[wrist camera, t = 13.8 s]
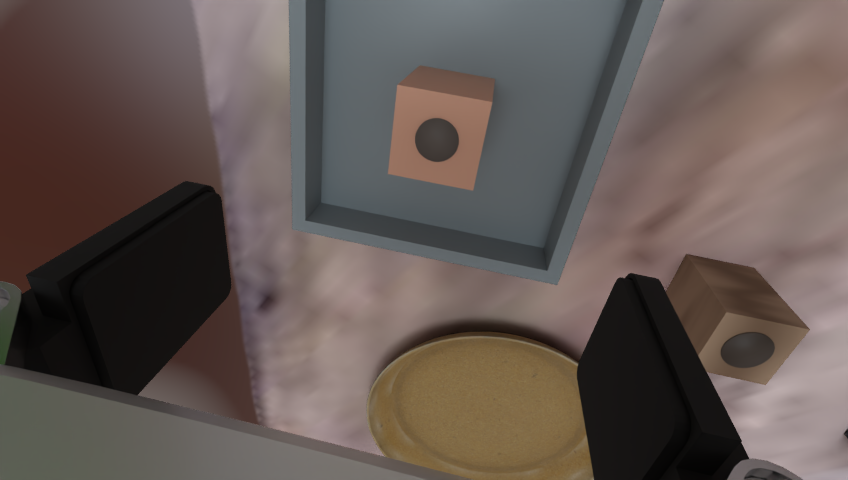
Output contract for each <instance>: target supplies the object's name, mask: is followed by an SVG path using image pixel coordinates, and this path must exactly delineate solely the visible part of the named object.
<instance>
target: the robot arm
mask: <svg viewBox="0 0 848 480" xmlns="http://www.w3.org/2000/svg"><path fill="white" fill-rule="evenodd" d="M26 276H27V279H28V281H29V283H30V286H31V289H30V290H28V291H26V292H25V293H23V294H22V292H21V290H19V289H18V288H17V287H16V286H15V285H12V284H9V283H6V282H0V480H473V479H470V478H466V477H462V476H458V475H454V474H450V473H446V472H442V471H438V470H434V469H430V468H427V467H423V466H419V465H415V464H411V463H407V462H403V461H399V460H395V459H391V458H387V457H384V456H380V455H376V454H372V453H368V452H364V451H360V450H356V449H352V448H348V447H344V446H340V445H336V444H332V443H328V442H324V441H320V440H316V439H312V438H308V437H304V436H300V435H296V434H292V433H288V432H284V431H280V430H276V429H272V428H268V427H264V426H260V425H256V424H252V423H247V422H243V421H240V420H236V419H232V418H227V417H224V416H219V415H215V414H211V413H207V412H203V411H199V410H195V409H191V408H187V407H182V406H179V405H174V404H170V403H166V402H162V401H158V400H154V399H150V398H146V397H142V396H138V394H139V393H140V392H141V391H142V390H143V388H144V387H145V386H146V385H147V384H148V383H149V382H150V381H151V380H152V379H153V378H154V377H155V375H156V374H157V373H158V372H159V371H160V370H161V369H162V368H163V367H164V366H165V365H166V363H167V362H168V361H169V360H170V359H171V358H172V357H173V356H174V355H175V354H176V353H177V351H178V350H179V349H180V348H181V347H182V346H183V345H184V344H185V343H186V342H187V341H188V339H189V338H190V337H191V336H192V335H193V334H194V333H195V332H196V331H197V330H198V329H199V327H200V326H201V325H202V324H203V323H204V322H205V321H206V320H207V319H208V318H209V317H210V316H211V314H212V313H213V312H214V311H215V310H216V309H217V308H218V307H219V306H220V305H221V303H222V302H223V301H224V300H225V299H226V298H227V296H228V295H229V293H230V289H231V277H230V269H229V260H228V252H227V243H226V235H225V226H224V218H223V209H222V201H221V197H220V195H219V194H217V193H216V192H215V190H214V188H213V187H211V186H208V185H203V184H198V183H194V182H188V181H185V182H183V183H181V184H179V185H177V186H176V187H174V188H172V189H171V190H169V191H167V192H166V193H164V194H162V195H160V196H159V197H157V198H155V199H154V200H152V201H151V202H149V203H147V204H145V205H143V206H142V207H140V208H138V209H137V210H135V211H133V212H132V213H130V214H128V215H127V216H125V217H123V218H121V219H120V220H118V221H117V222H115V223H113V224H111V225H110V226H108V227H106V228H105V229H103V230H102V231H100V232H98V233H96V234H95V235H93V236H91V237H89V238H88V239H86V240H85V241H82V242H81V243H79V244H77V245H76V246H74V247H72V248H71V249H69V250H67V251H66V252H64V253H62V254H60V255H59V256H57V257H55V258H54V259H52V260H50V261H49V262H47V263H45V264H44V265H42V266H40V267H38V268H37V269H35V270H33V271H32V272H30V273H28V274H27V275H26ZM577 382H578V388H579V394H580V399H581V405H582V411H583V417H584V423H585V429H586V435H587V441H588V447H589V452H590V458H591V464H592V470H593V476H594V480H803V479H801V478H800V477H798V476H797V475H795V474H793V473H792V472H790V471H788V470H787V469H785V468H783V467H781V466H779V465H776V464H774V463H771V462H769V461H765V460H759V459H749V457H748V455H747V453H746V451H745V449H744V447H743V445H742V443H741V442H742V440H741V439H740V437H739V435H738V433H737V431H736V429H735V427H734V425H733V423H732V421H731V419H730V417H729V415H728V413H727V411H726V409H725V407H724V405H723V403H722V401H721V399H720V397H719V395H718V393H717V392H716V390H715V388H714V386H713V384H712V382H711V380H710V378H709V376H708V374H707V372H706V370H705V368H704V366H703V364H702V362H701V360H700V358H699V356H698V354H697V352H696V350H695V348H694V346H693V345H692V343H691V341H690V339H689V337H688V335H687V333H686V331H685V329H684V327H683V325H682V323H681V321H680V319H679V317H678V315H677V313H676V311H675V309H674V307H673V305H672V303H671V301H670V299H669V298H668V296H667V294H666V292H665V290H664V288H663V286H662V284H661V282H660V281H659V279H656V278H652V277H647V276H642V275H637V274H633V273H630V274H628V275H627V276H626V278H618V279H617V280H616V282H615V284H614V286H613V289H612V291H611V293H610V295H609V297H608V299H607V302H606V304H605V306H604V308H603V310H602V313H601V315H600V317H599V319H598V321H597V324H596V326H595V328H594V330H593V332H592V334H591V337H590V339H589V341H588V343H587V345H586V348H585V350H584V352H583V354H582V356H581V359H580V361H579V363H578V367H577Z"/></svg>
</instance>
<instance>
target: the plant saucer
mask: <svg viewBox="0 0 848 480" xmlns="http://www.w3.org/2000/svg"><path fill="white" fill-rule="evenodd" d="M577 367H578V362H577V361H575V360H574V359H572V358H571V357H569V356H568V355H566V354H564V353H563V352H561V351H559V350H557V349H555V348H553V347H550V346H548V345H546V344H543V343H541V342H538V341H535V340H532V339H529V338H525V337H522V336H517V335H512V334H506V333H499V332H464V333H456V334H451V335H446V336H442V337H438V338H435V339H432V340H429V341H427V342H424V343H422V344H419V345H417V346H415V347H413V348H411V349H410V350H408V351H406V352H405V353H403V354H402V355H400V356H399V357H397V358H396V359H395V360H394V361H393V362H391V363H390V364H389V365H388V366H387V367H386V368H385V369H384V370H383V371H382V373H381V374H380V375H379V376H378V377H377V379H376V380H375V382H374V384H373V386H372V388H371V390H370V393H369V396H368V400H367V408H366V413H367V422H368V426H369V430H370V433H371V435H372V437H373V439H374V441H375V443H376V444H377V446H378V447H379V449H380V450H381V452H382V453H383V454H384V456H385V457H387V458H391V459H395V460H399V461H403V462H407V463H411V464H415V465H419V466H423V467H427V468H430V469H434V470H438V471H442V472H446V473H450V474H454V475H458V476H462V477H466V478H470V479H473V480H594V476H593V470H592V464H591V458H590V452H589V447H588V441H587V435H586V429H585V423H584V417H583V411H582V405H581V399H580V394H579V388H578V382H577Z"/></svg>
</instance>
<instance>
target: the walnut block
mask: <svg viewBox="0 0 848 480" xmlns="http://www.w3.org/2000/svg"><path fill="white" fill-rule="evenodd" d="M666 294H667V296H668V298H669V299H670V301H671V303H672V305H673V307H674V309H675V311H676V313H677V315H678V317H679V319H680V321H681V323H682V325H683V327H684V329H685V331H686V333H687V335H688V337H689V339H690V341H691V343H692V345H693V346H694V348H695V350H696V352H697V354H698V356H699V358H700V360H701V362H702V364H703V366H704V368H705V370H706V372H709V373H714V374H718V375H723V376H727V377H732V378H736V379H741V380H746V381H750V382H755V383H759V384H764V385H766V384H767V383H768V381H769V380H770V379H771V378H772V376H773V375H774V374H775V373H776V371H777V370H778V369H779V368H780V366H781V365H782V364H783V363H784V361H785V360H786V359H787V358H788V356H789V355H790V354H791V353H792V351H793V350H794V349H795V348H796V346H797V345H798V344H799V343H800V341H801V340H802V339H803V338H804V336H805V335H806V334H807V333H808V331H809V330H810V329H809V328H808V327H807V326H806V325H805V324H804V323H803V321H802V320H801V319H800V318H799V317H798V316H797V315H796V314H795V313H794V311H793V310H792V309H791V308H790V307H789V306H788V305H787V304H786V303H785V301H784V300H783V299H782V298H781V297H780V296H779V295H778V294H777V293H776V292H775V290H774V289H773V288H772V287H771V286H770V285H769V284H768V283H767V282H766V280H765V279H764V278H763V277H762V276H761V275H760V274H759V273H758V272H757V271H756V269H755V268H752V267H748V266H743V265H738V264H733V263H728V262H723V261H718V260H713V259H708V258H703V257H698V256H693V255H688V254H686V256H685V258H684V260H683V261H682V263H681V265H680V267H679V269H678V271H677V272H676V274H675V276H674V278H673V280H672V282H671V284H670V285H669V287H668V289H667V291H666Z"/></svg>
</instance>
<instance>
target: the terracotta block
mask: <svg viewBox="0 0 848 480" xmlns="http://www.w3.org/2000/svg"><path fill="white" fill-rule="evenodd" d="M494 84H495V79H494V78H488V77H483V76H477V75H471V74H466V73H460V72H455V71H449V70H443V69H438V68H432V67H427V66H421V65H420V66H418V67H417V68H416V69H415V70H414V71H413V72H412V73H410V74H409V75H408V76H407V77H406V78H405V79H403V80H402V81H401V82H400V83H399V84H398V85H397V92H396V102H395V111H394V121H393V130H392V140H391V149H390V159H389V168H388V174H391V175H396V176H401V177H406V178H411V179H416V180H421V181H426V182H431V183H436V184H442V185H447V186H452V187H457V188H462V189H467V190H472V191H473V189H474V184H475V180H476V175H477V170H478V166H479V161H480V157H481V152H482V148H483V143H484V138H485V134H486V129H487V125H488V120H489V115H490V111H491V106H492V101H493V92H494Z"/></svg>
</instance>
